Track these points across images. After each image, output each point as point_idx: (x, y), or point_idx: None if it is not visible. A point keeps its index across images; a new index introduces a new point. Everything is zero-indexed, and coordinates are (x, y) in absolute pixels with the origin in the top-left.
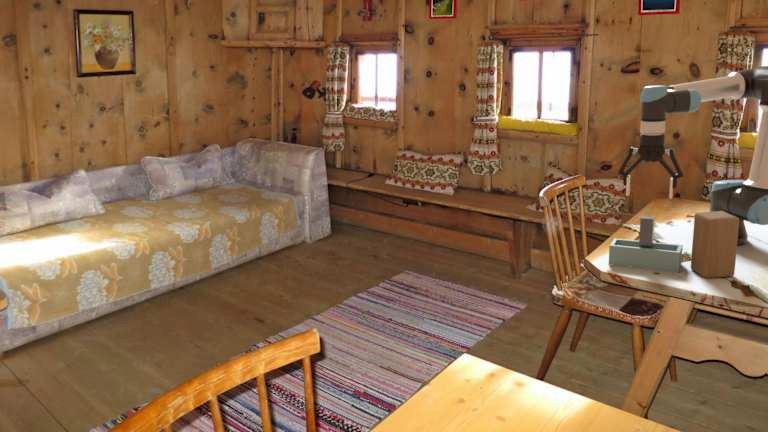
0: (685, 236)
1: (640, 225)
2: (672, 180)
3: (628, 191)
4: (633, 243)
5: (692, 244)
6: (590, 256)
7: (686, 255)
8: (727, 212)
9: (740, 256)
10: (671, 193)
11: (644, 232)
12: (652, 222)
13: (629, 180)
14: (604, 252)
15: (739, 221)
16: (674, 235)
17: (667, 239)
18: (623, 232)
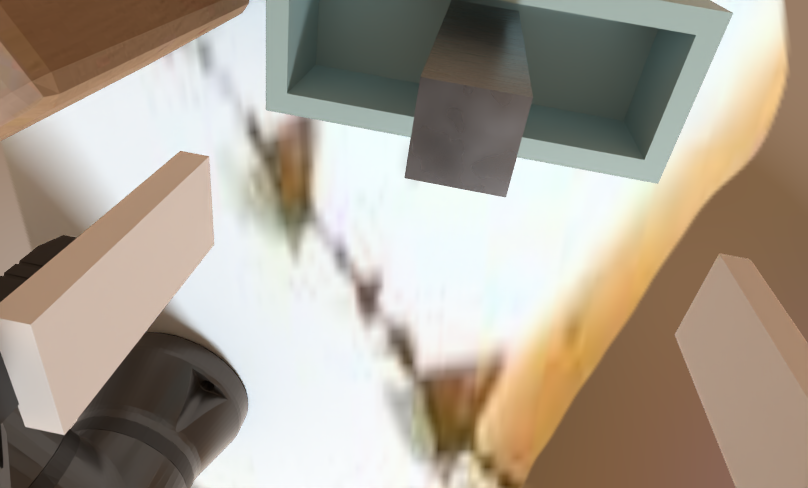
0: (306, 416)
1: (526, 76)
2: (8, 302)
3: (742, 290)
4: (543, 135)
5: (190, 29)
6: (766, 124)
7: (288, 209)
8: (88, 449)
9: (92, 224)
10: (149, 181)
11: (491, 53)
12: (427, 67)
13: (788, 460)
14: (668, 200)
15: (75, 423)
16: (344, 424)
17: (368, 384)
18: (533, 447)
